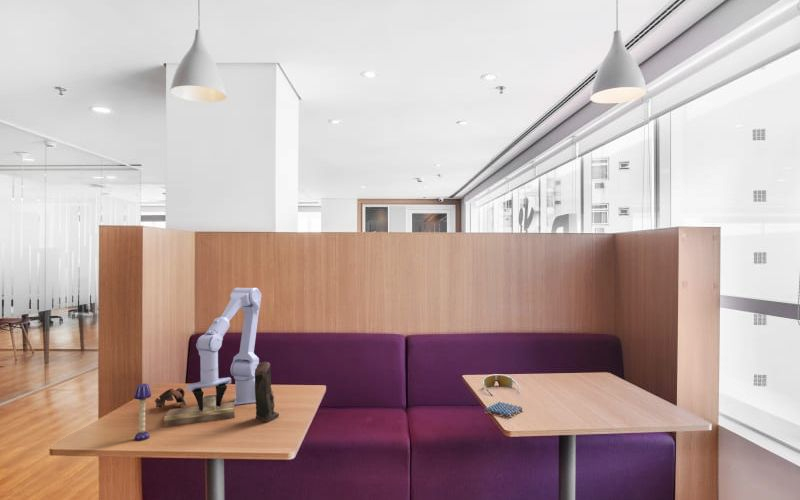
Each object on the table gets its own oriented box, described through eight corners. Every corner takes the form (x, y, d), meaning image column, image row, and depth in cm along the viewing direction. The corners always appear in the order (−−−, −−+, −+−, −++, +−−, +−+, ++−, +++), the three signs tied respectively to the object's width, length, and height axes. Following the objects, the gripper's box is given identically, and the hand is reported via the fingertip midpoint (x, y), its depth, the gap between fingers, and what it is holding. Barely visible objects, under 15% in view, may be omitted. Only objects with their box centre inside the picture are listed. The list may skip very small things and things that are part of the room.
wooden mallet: (220, 403, 169) (219, 389, 169) (214, 412, 160) (214, 398, 160) (208, 404, 169) (208, 390, 169) (202, 413, 159) (202, 399, 159)
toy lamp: (139, 435, 146) (138, 382, 147) (154, 434, 147) (153, 382, 147) (131, 441, 142) (130, 387, 142) (147, 440, 142) (146, 386, 142)
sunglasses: (512, 384, 195) (512, 373, 195) (523, 401, 180) (524, 388, 180) (479, 385, 194) (479, 374, 194) (488, 402, 179) (488, 390, 179)
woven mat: (482, 414, 162) (482, 408, 162) (498, 406, 169) (498, 400, 169) (509, 420, 154) (508, 414, 154) (524, 412, 162) (524, 406, 162)
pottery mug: (180, 413, 168) (167, 395, 166) (160, 424, 169) (146, 406, 167) (196, 395, 179) (184, 378, 178) (176, 405, 181) (164, 388, 179)
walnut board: (234, 407, 172) (234, 397, 172) (234, 417, 161) (234, 407, 161) (169, 415, 165) (169, 405, 165) (164, 426, 153) (164, 416, 153)
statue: (279, 416, 161) (278, 359, 161) (267, 424, 154) (266, 364, 154) (263, 414, 163) (262, 358, 163) (250, 422, 156) (249, 363, 156)
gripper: (226, 363, 169) (226, 400, 169) (184, 370, 160) (184, 409, 159) (233, 366, 164) (233, 405, 164) (190, 374, 154) (190, 414, 154)
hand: (209, 407), depth 161 cm, fingers closed on wooden mallet, 5 cm apart
